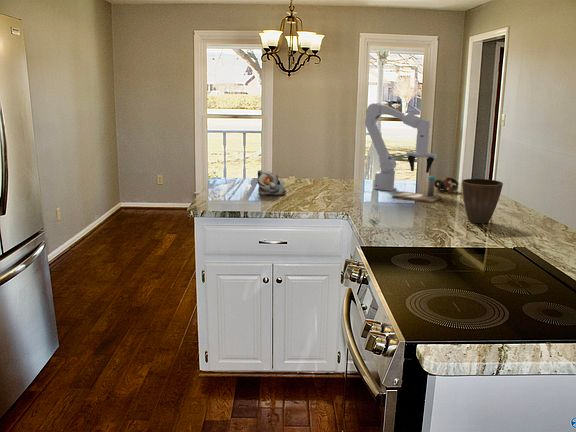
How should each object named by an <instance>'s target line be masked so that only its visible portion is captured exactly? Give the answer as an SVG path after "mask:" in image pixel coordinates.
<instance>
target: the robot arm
mask: <svg viewBox="0 0 576 432" xmlns="http://www.w3.org/2000/svg"><path fill="white" fill-rule="evenodd" d="M382 115H389V116H391V117H394V118H396V119H399V120H401V121H402V122H403V124H404V125H406V126H408V127H411V128H413V129H416V132H417V133H416V139H415V140H416V142H415V152H414V151H412V152H411V151H407V152H406V154H405V155H406V157H407V161H408V163H409V167H410V171H411V172H414V171H415V162H416V161H415V160H416V157H417V158H426V170H425V173H426V174H428V173H429V172H430V169H431V167H432V165H433V162H434V161H435V159H437V153H429V152H428V148H429V138H430V136H429V135H430V134H429V133H430V128H431V122H430V121H429V120H428V119H426V118H423V117H422V116H420V117H419V116H418V115H415V113H413V112H407V113H404V112H402V111H399V110H398V109H396V108H394V107H391V106H389V105H386V104H381V103H379V102H377V103H374V102H373V103H371V104H369V105H368V106H367V108H366V110H365V120H364V124H365V127H366V129H367V132H368V134H369V136H370V139H371V142H372V144H373V146H374V148H375V150H376V153H377V155H378V161H379V169H380V170H379V171H376V172H375V175H374V187H373V189H374V190H379V191H389V192H392V191H395V190H396V189H397V187H395V173H396V171H395V168H396V166H397V161H396V159H394V158H393V157H392V154H391V153H390V152H389V151H388V148H387V145H386V144H385V142H384V139H383V137H382V135H381V132H380V130H379V127H378V125H377V122H378V120H379V118H380V117H381V116H382Z"/></svg>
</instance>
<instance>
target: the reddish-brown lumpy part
mask: <svg viewBox="0 0 576 432" xmlns="http://www.w3.org/2000/svg"><path fill="white" fill-rule="evenodd" d="M450 181H451V183H452V185H451V183H450ZM458 186H459V182H458V181H457V179H455V178H453V177H449V176H447V177H445V178H444V179H435V184H434V188H436V189H437V191H439V190H446V191H447V193H449V194H451V193H452V192H454V191H457V190H458V188H459V187H458Z"/></svg>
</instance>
